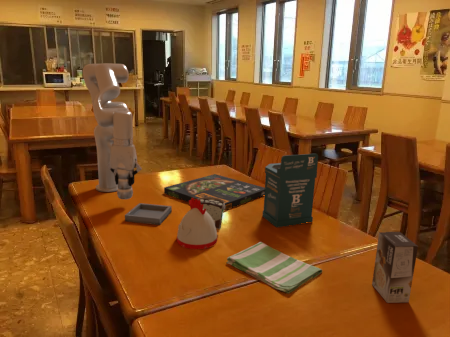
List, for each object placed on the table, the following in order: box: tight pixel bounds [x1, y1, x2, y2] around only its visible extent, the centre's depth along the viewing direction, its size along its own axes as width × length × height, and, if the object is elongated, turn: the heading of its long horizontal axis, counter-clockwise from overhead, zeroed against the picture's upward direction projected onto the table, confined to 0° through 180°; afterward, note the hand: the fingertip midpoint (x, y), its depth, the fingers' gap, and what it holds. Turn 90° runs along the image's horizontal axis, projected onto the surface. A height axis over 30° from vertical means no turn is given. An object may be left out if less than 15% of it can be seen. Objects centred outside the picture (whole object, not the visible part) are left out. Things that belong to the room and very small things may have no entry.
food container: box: [198, 197, 225, 230], centre depth 143 cm, size 12×6×10 cm, turn 65°
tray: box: [124, 202, 173, 226], centre depth 149 cm, size 14×14×2 cm
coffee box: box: [371, 231, 419, 304], centre depth 100 cm, size 9×6×16 cm
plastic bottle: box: [116, 163, 134, 200], centre depth 156 cm, size 6×7×20 cm
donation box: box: [261, 153, 319, 229], centre depth 149 cm, size 16×16×28 cm
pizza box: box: [163, 173, 265, 212], centre depth 179 cm, size 35×35×4 cm
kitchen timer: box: [176, 198, 218, 250], centre depth 128 cm, size 14×14×15 cm
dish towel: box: [226, 241, 323, 294], centre depth 113 cm, size 18×23×3 cm
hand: (124, 183), depth 157 cm, fingers closed on plastic bottle, 5 cm apart
